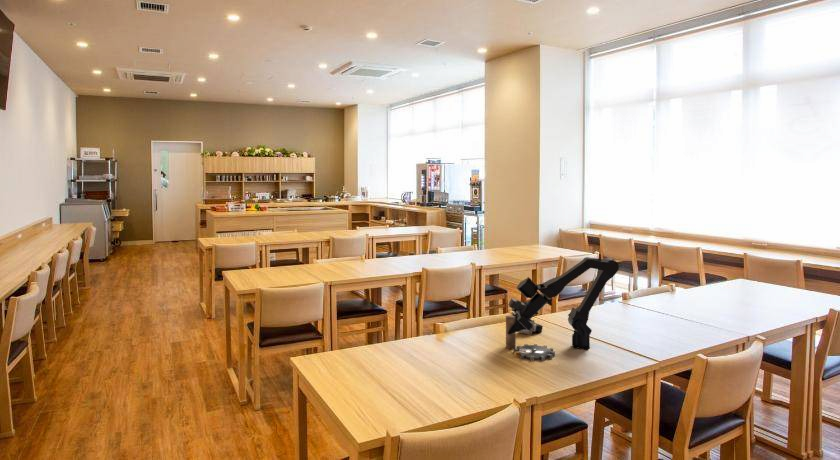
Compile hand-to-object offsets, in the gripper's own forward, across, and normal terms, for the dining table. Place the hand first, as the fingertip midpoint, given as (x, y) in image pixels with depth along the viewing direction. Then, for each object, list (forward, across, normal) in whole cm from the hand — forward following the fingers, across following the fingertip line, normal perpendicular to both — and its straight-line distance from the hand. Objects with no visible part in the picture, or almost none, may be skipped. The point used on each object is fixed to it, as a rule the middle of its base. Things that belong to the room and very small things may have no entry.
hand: (507, 332), depth 219 cm
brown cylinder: (+4, 0, +6) cm, 7 cm away
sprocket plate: (-2, +8, +11) cm, 14 cm away
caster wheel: (-4, -22, +14) cm, 26 cm away
